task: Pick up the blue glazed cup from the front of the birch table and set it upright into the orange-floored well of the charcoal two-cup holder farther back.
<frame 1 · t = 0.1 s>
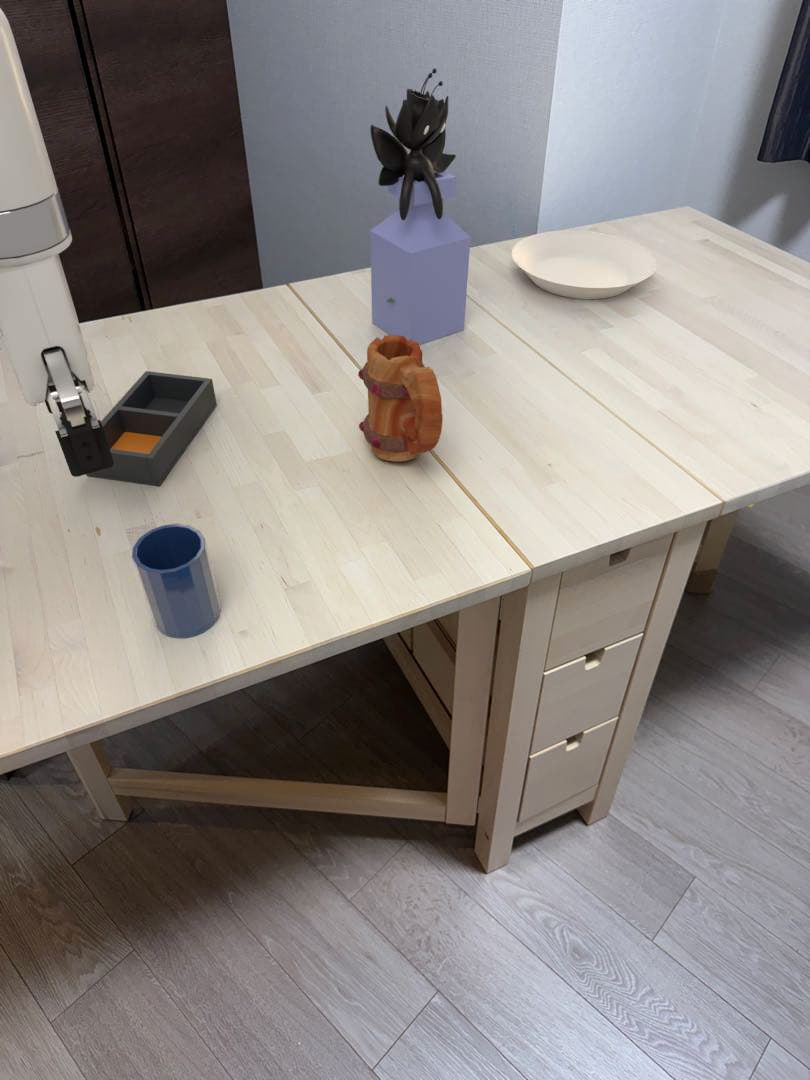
hand: (80, 437, 61), 20 cm above the table, tool pointing down, fingers open, 9 cm apart
holder: (155, 438, 95), on the table
cup: (187, 613, 73), on the table
bowl: (579, 278, 133), on the table
mug: (403, 462, 92), on the table
vase: (416, 328, 118), on the table
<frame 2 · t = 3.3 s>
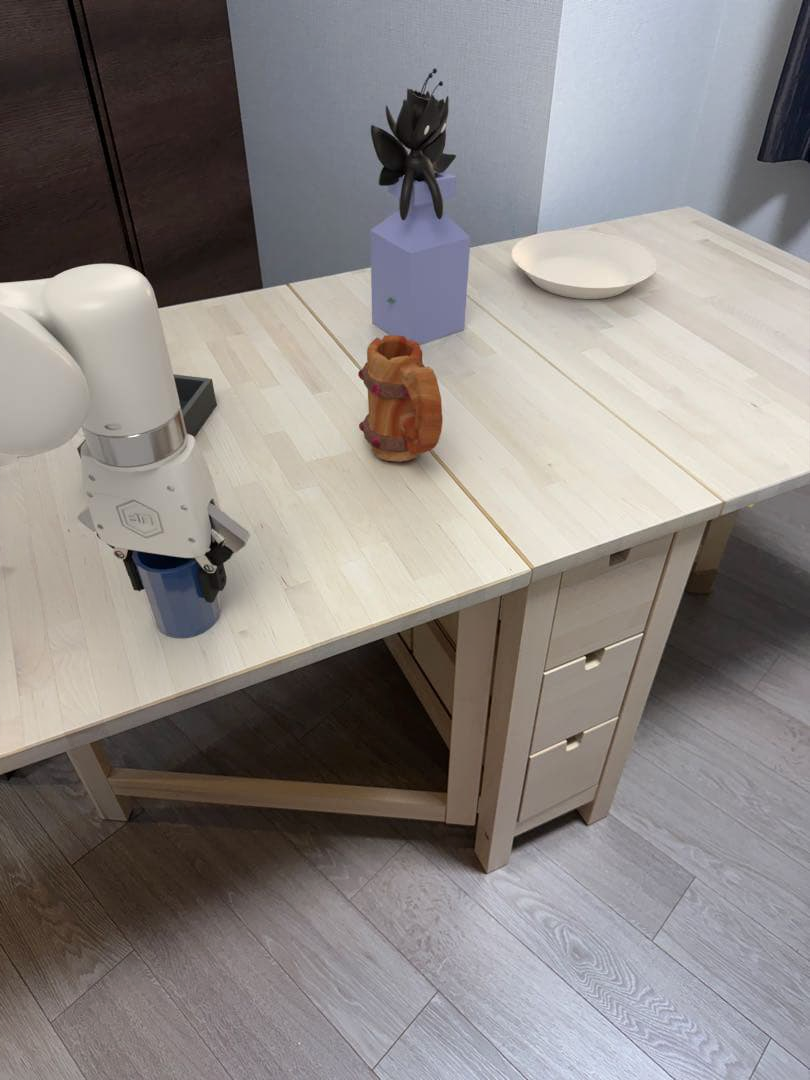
hand: (179, 584, 71), 4 cm above the table, tool pointing down, fingers closed on cup, 6 cm apart
cup: (187, 613, 73), on the table, touching gripper
everything else where it was.
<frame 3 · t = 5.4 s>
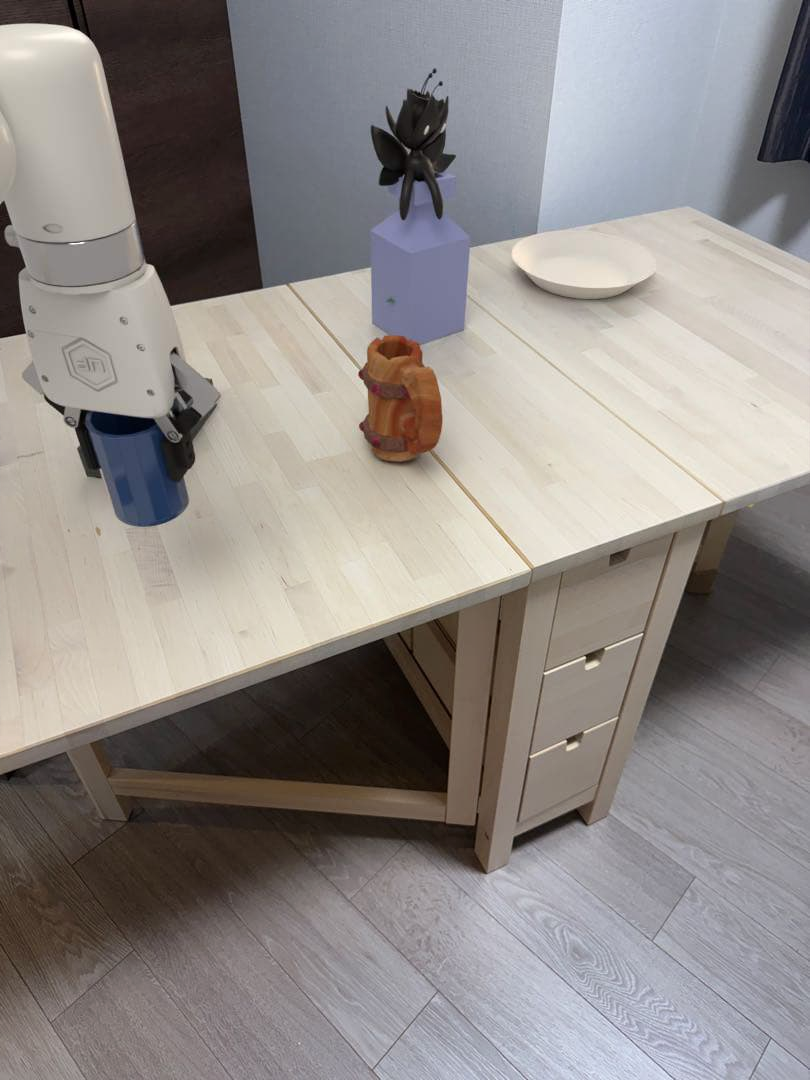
hand: (141, 464, 62), 18 cm above the table, tool pointing down, fingers closed on cup, 6 cm apart
cup: (151, 502, 64), point 14 cm above the table, touching gripper
everything else where it was.
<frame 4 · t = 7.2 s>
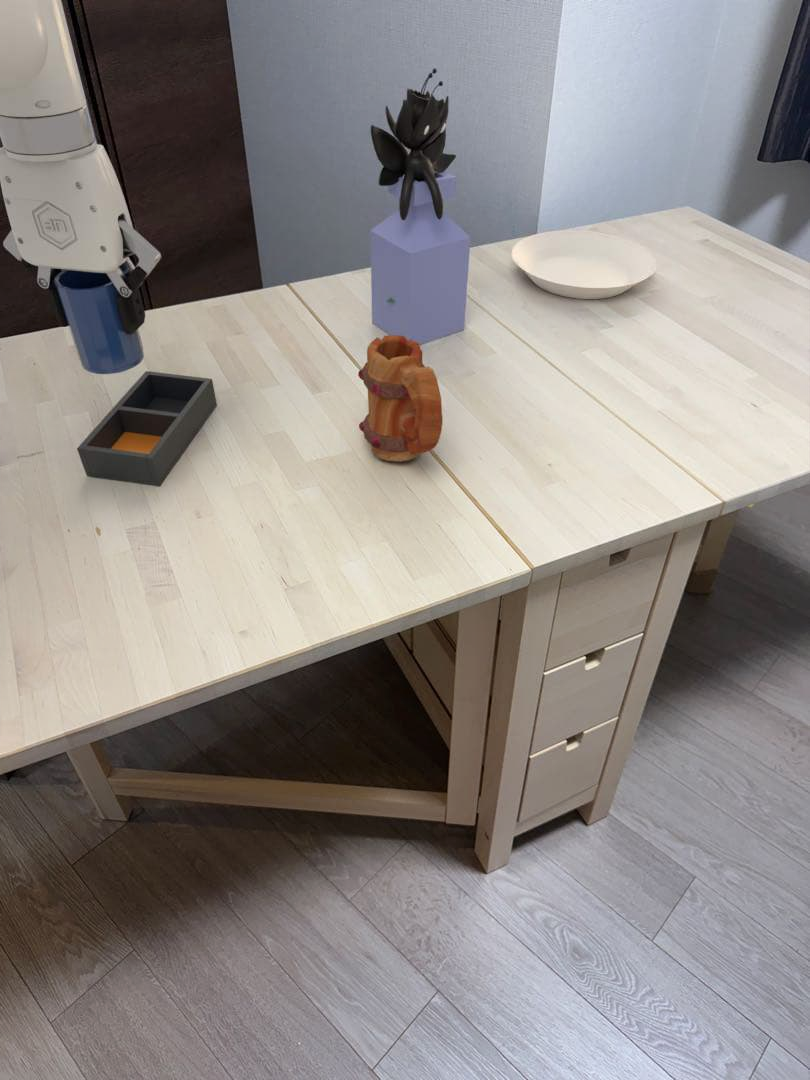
hand: (102, 323, 76), 20 cm above the table, tool pointing down, fingers closed on cup, 6 cm apart
cup: (112, 358, 79), point 16 cm above the table, touching gripper
everything else where it was.
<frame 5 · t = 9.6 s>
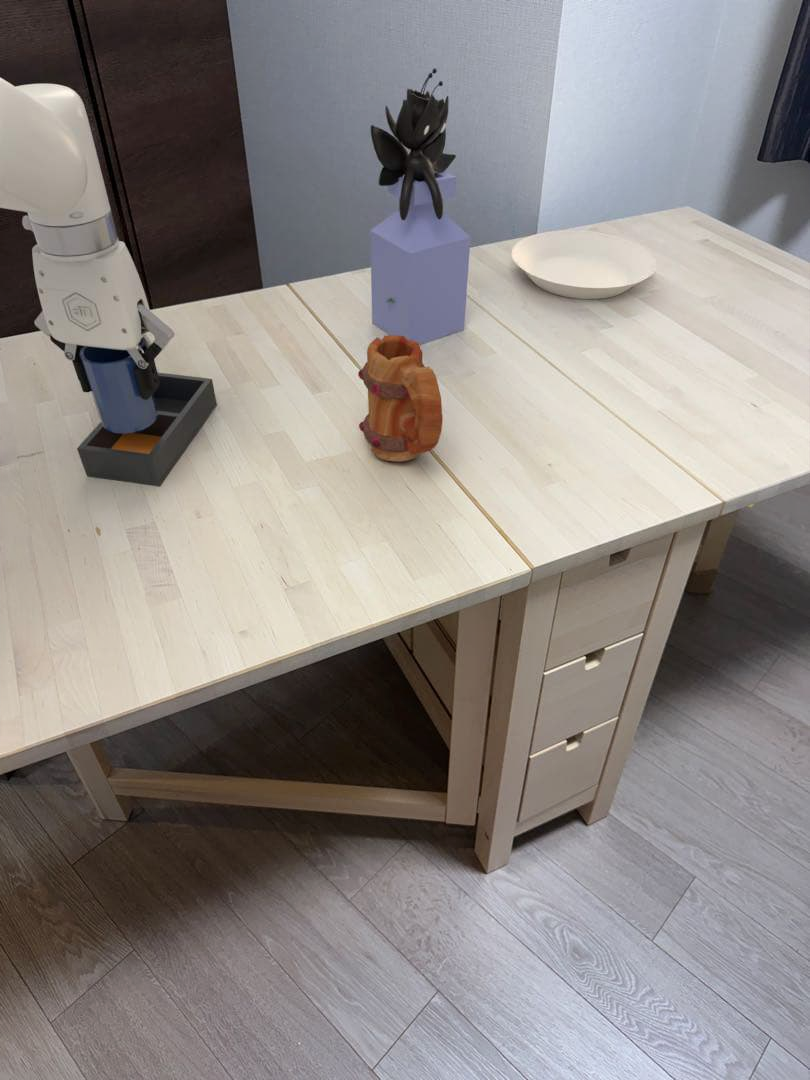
hand: (121, 388, 85), 10 cm above the table, tool pointing down, fingers closed on cup, 6 cm apart
cup: (129, 418, 88), point 6 cm above the table, touching gripper
everything else where it was.
when the fingers open (5 cm above the table, at t = 11.3 s): cup stays where it is, resting on holder.
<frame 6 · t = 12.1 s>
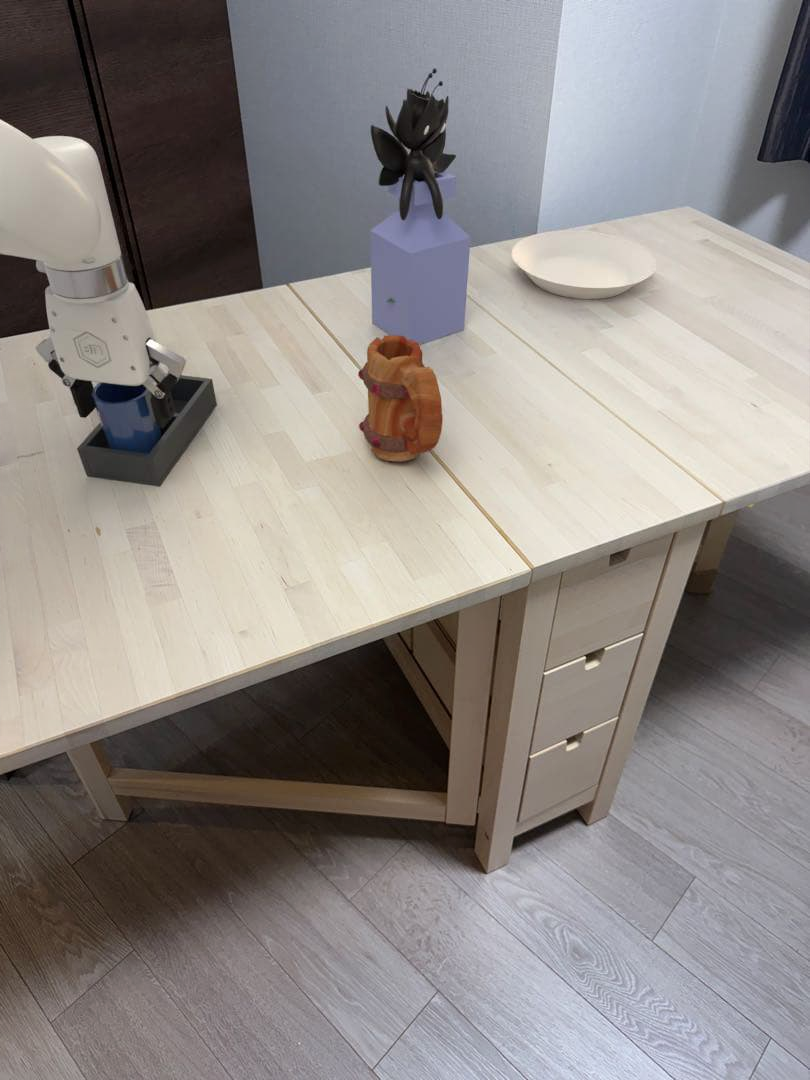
hand: (127, 416, 88), 6 cm above the table, tool pointing down, fingers open, 9 cm apart
cup: (139, 452, 91), point 1 cm above the table, touching holder
everything else where it was.
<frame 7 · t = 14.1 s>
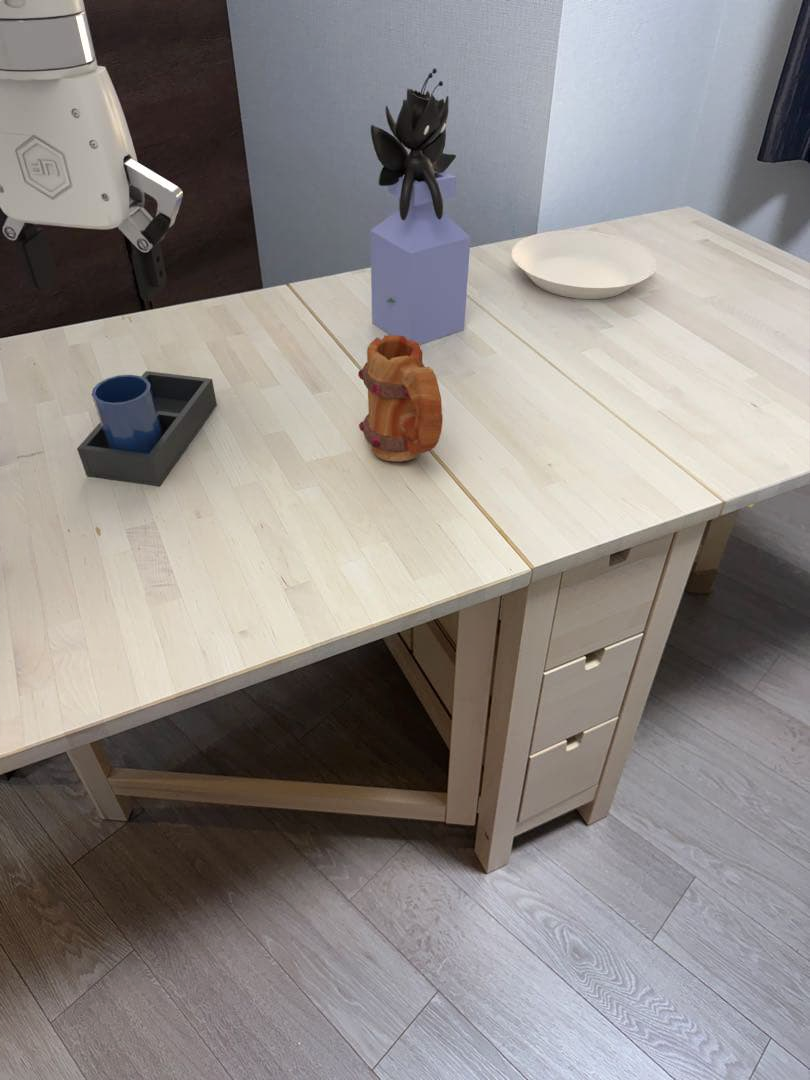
hand: (99, 288, 62), 28 cm above the table, tool pointing down, fingers open, 9 cm apart
nothing on the table moved.
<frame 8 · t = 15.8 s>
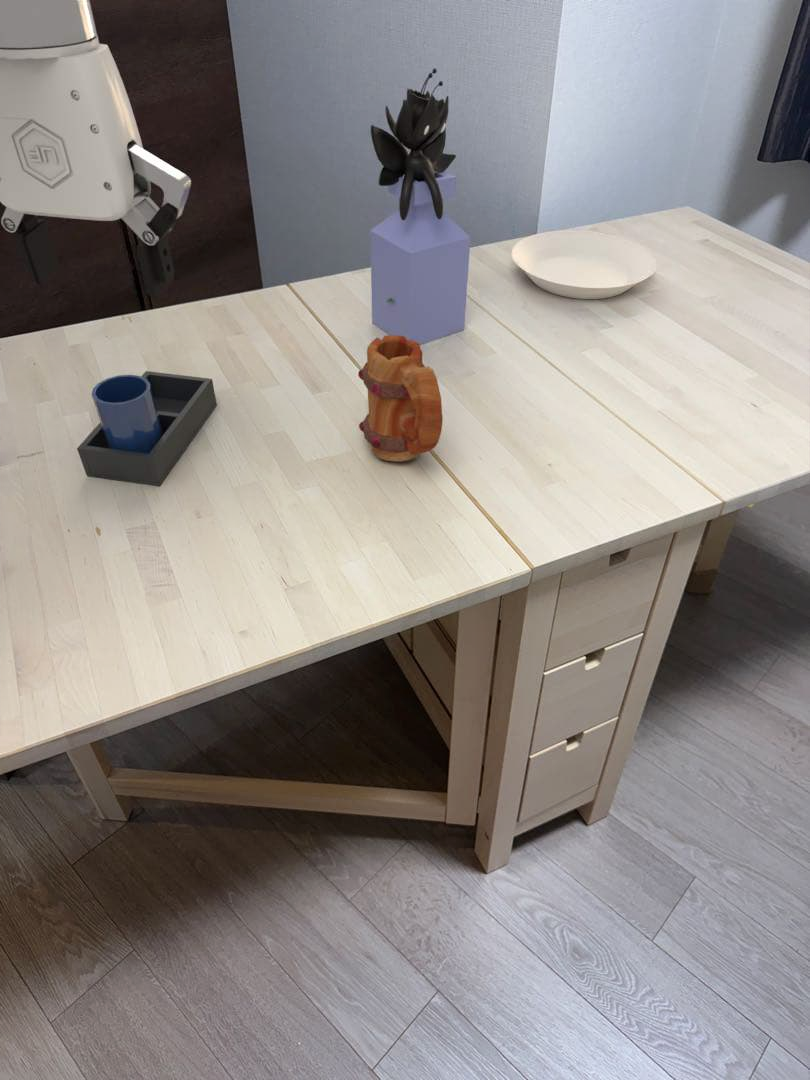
hand: (103, 283, 58), 30 cm above the table, tool pointing down, fingers open, 9 cm apart
nothing on the table moved.
at the end: cup 0.1 cm from the target spot in the holder, point 0.8 cm above the holder's base; cup tilted 0° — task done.
